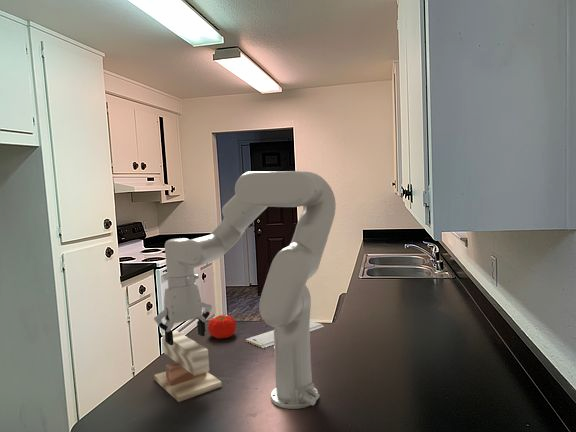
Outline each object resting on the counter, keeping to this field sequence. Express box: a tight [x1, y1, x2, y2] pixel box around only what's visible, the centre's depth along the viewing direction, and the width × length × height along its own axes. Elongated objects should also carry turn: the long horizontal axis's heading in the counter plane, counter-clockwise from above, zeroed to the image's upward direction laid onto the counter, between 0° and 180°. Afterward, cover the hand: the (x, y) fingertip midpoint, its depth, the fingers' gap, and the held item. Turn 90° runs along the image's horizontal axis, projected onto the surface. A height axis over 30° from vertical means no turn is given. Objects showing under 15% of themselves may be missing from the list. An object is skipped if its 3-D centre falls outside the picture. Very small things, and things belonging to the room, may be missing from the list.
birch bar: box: [161, 329, 210, 376], centre depth 124 cm, size 22×4×6 cm, turn 37°
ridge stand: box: [153, 361, 223, 403], centre depth 124 cm, size 18×13×6 cm
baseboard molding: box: [245, 320, 326, 350], centre depth 162 cm, size 31×3×12 cm
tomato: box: [207, 314, 237, 340], centre depth 163 cm, size 11×11×8 cm
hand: (186, 339), depth 123 cm, fingers open, 9 cm apart
